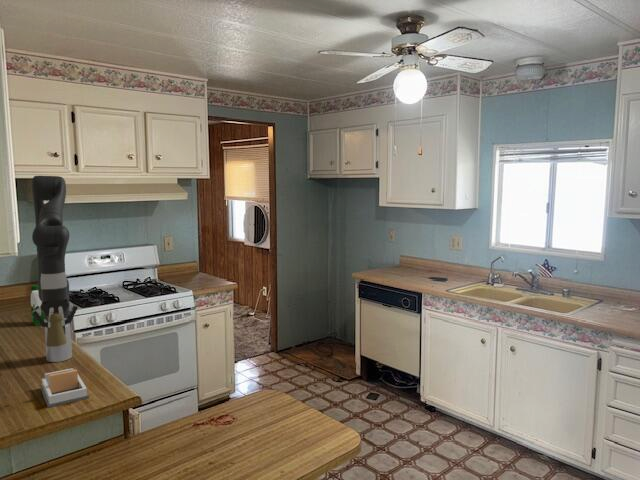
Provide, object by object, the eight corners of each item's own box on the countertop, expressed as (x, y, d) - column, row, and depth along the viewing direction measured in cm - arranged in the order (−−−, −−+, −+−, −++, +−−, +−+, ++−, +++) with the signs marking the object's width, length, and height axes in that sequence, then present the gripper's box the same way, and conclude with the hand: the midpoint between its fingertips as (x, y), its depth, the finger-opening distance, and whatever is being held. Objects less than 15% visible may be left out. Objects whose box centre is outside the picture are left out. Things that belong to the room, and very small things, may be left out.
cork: (58, 346, 157) (56, 313, 156) (41, 346, 158) (39, 313, 157) (70, 341, 163) (69, 309, 162) (54, 341, 164) (52, 309, 163)
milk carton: (31, 322, 247) (29, 284, 245) (51, 320, 252) (49, 282, 250) (32, 326, 240) (30, 287, 238) (53, 324, 245) (51, 285, 243)
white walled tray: (40, 388, 168) (39, 374, 167) (78, 380, 175) (77, 367, 174) (47, 407, 153) (47, 392, 153) (88, 398, 160) (88, 383, 160)
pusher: (48, 390, 163) (47, 373, 163) (76, 384, 168) (75, 367, 168) (50, 393, 161) (49, 376, 160) (78, 387, 166) (77, 370, 165)
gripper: (75, 282, 166) (77, 331, 167) (28, 286, 158) (31, 338, 159) (79, 285, 160) (81, 336, 161) (30, 290, 152) (33, 343, 153)
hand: (56, 337), depth 160 cm, fingers closed on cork, 2 cm apart
